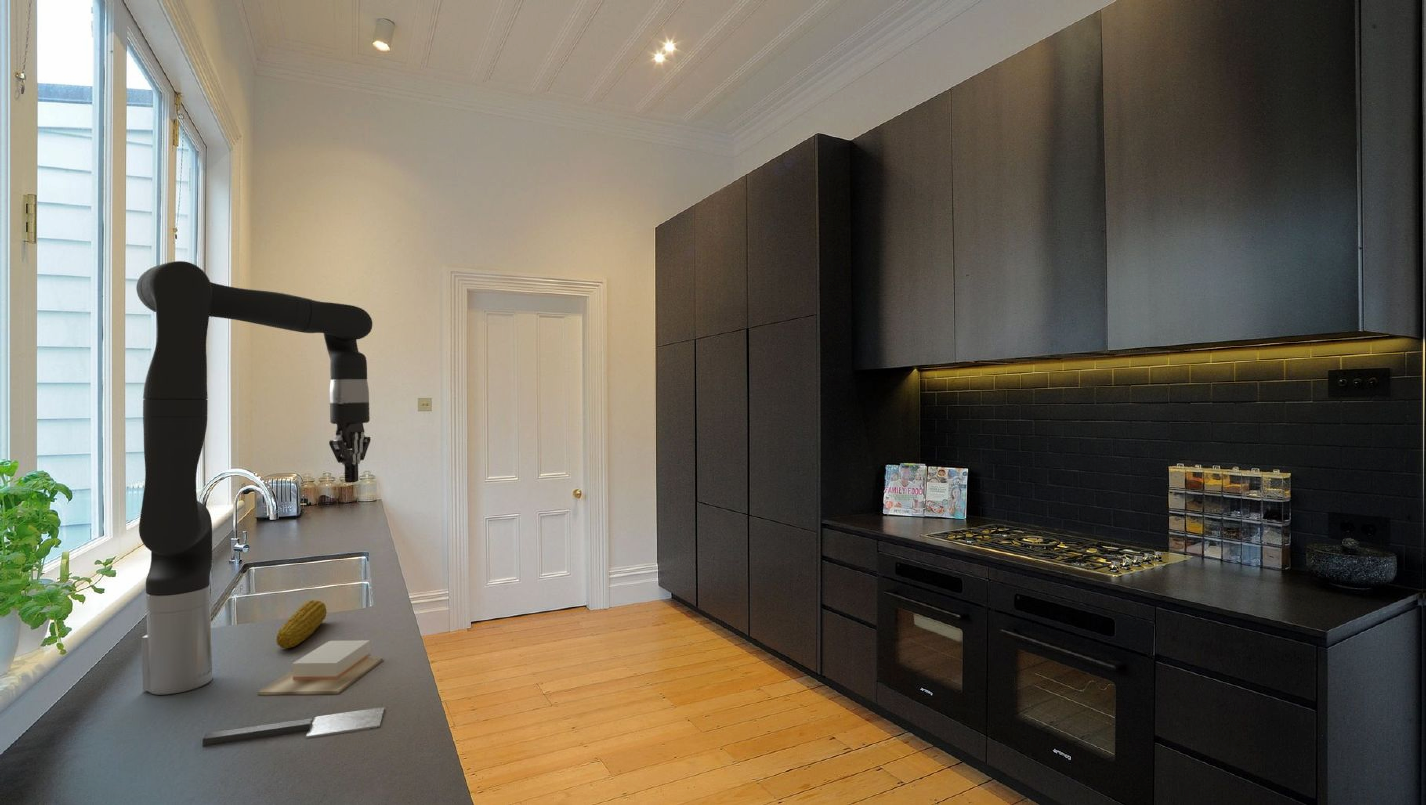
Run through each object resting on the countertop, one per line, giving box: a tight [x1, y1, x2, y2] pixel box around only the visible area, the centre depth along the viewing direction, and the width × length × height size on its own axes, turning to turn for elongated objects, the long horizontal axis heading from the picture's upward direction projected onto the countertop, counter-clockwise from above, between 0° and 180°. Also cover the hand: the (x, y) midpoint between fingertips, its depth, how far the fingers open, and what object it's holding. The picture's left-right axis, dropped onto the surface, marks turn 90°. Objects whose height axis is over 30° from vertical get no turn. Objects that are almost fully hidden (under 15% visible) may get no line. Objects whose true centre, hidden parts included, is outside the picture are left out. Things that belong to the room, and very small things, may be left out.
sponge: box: [291, 639, 371, 680], centre depth 137 cm, size 8×3×12 cm
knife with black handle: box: [202, 706, 385, 748], centre depth 112 cm, size 24×7×1 cm, turn 108°
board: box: [257, 657, 384, 696], centre depth 133 cm, size 14×16×1 cm
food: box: [275, 599, 328, 649], centre depth 156 cm, size 21×6×6 cm, turn 14°
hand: (351, 482), depth 156 cm, fingers closed
